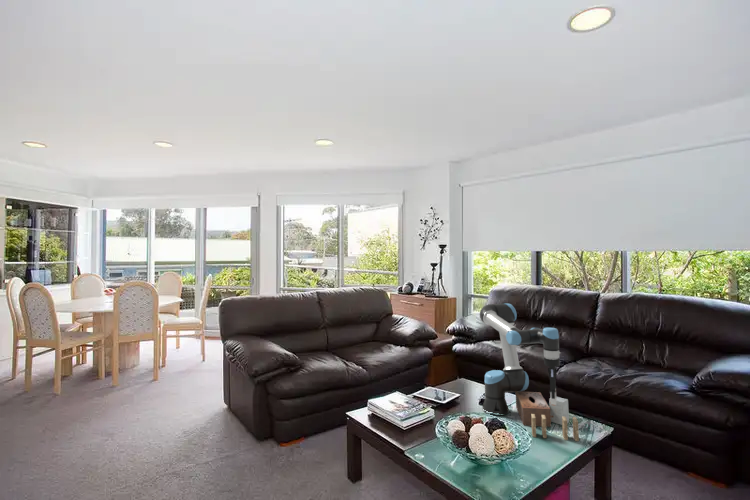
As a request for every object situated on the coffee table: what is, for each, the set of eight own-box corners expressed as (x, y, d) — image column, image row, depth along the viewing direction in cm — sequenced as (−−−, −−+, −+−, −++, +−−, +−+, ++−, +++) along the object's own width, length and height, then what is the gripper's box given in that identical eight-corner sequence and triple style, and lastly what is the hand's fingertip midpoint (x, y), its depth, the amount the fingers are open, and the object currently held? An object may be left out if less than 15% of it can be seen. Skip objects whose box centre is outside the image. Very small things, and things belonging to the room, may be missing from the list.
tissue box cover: (551, 427, 215) (550, 408, 215) (523, 425, 218) (522, 407, 218) (540, 408, 241) (540, 392, 241) (516, 407, 243) (515, 391, 244)
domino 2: (543, 437, 203) (542, 418, 203) (542, 433, 208) (541, 414, 208) (546, 438, 202) (545, 418, 202) (545, 433, 207) (544, 414, 207)
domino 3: (564, 439, 200) (563, 420, 200) (562, 435, 205) (562, 416, 205) (567, 440, 200) (567, 420, 200) (566, 435, 204) (565, 416, 204)
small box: (569, 422, 220) (568, 399, 220) (563, 426, 216) (563, 402, 216) (554, 418, 226) (554, 395, 226) (549, 421, 222) (548, 398, 222)
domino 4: (575, 441, 199) (574, 421, 199) (573, 436, 203) (572, 417, 204) (578, 441, 198) (578, 421, 198) (576, 436, 203) (576, 417, 203)
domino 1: (532, 436, 204) (532, 417, 204) (531, 432, 209) (531, 413, 209) (536, 437, 204) (535, 417, 204) (535, 432, 209) (534, 414, 209)
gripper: (559, 362, 196) (561, 409, 196) (559, 354, 213) (561, 397, 212) (543, 361, 199) (545, 407, 199) (544, 353, 216) (546, 395, 215)
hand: (553, 402), depth 206 cm, fingers closed on terracotta domino, 5 cm apart
